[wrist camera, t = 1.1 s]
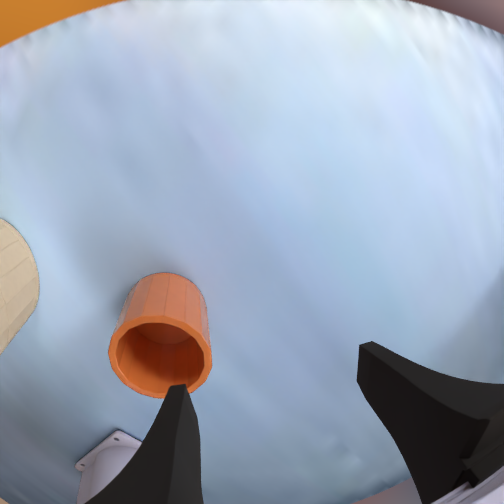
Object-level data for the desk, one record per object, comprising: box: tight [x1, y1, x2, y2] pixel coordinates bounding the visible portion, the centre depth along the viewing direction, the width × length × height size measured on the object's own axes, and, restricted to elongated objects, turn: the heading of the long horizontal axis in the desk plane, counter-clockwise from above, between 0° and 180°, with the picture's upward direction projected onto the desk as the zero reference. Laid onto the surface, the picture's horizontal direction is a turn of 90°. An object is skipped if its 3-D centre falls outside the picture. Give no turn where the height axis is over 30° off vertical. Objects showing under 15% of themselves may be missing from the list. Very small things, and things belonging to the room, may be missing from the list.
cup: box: [108, 273, 212, 398], centre depth 17 cm, size 5×5×6 cm
